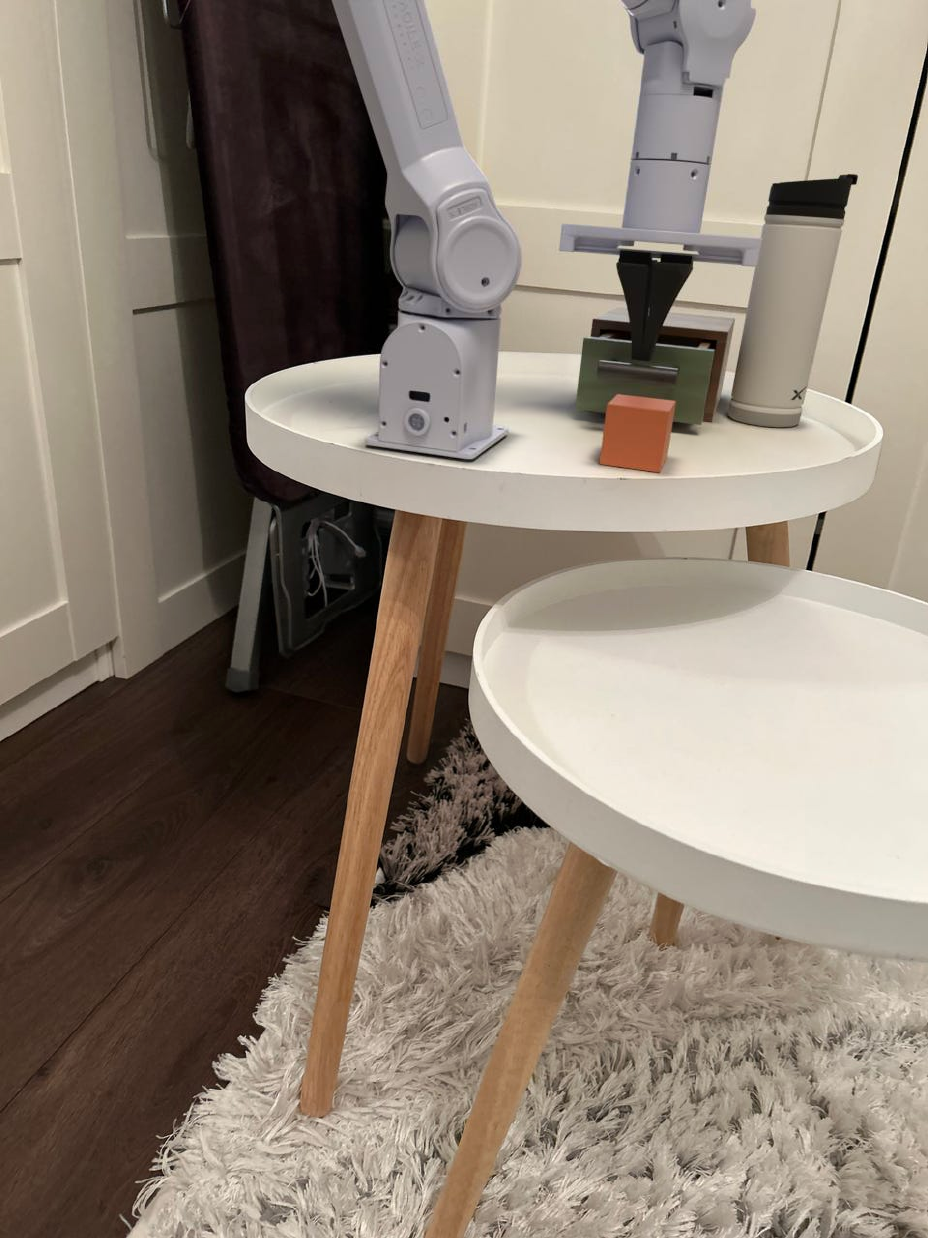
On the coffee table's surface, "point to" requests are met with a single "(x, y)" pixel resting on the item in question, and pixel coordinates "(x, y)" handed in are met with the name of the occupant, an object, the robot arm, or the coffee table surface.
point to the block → (637, 432)
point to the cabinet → (689, 328)
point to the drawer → (646, 373)
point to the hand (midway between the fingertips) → (641, 359)
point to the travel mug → (788, 299)
